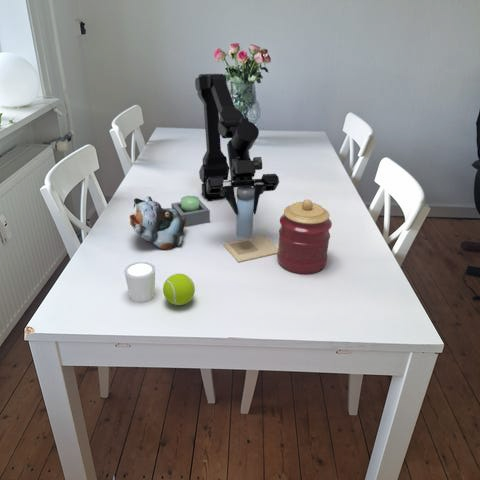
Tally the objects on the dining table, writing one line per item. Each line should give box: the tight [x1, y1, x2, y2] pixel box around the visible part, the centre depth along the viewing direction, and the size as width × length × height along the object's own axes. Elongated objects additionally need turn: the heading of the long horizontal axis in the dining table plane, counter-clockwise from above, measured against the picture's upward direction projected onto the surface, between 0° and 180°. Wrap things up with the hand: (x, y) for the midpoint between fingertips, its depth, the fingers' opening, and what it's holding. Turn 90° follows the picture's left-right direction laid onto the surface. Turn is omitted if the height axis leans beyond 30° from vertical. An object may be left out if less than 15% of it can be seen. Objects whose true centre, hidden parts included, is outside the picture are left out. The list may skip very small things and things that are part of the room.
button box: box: [170, 199, 211, 228], centre depth 141 cm, size 9×9×4 cm
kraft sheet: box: [222, 234, 279, 264], centre depth 127 cm, size 13×10×1 cm
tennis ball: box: [162, 273, 196, 306], centre depth 103 cm, size 7×7×7 cm
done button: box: [180, 195, 200, 213], centre depth 140 cm, size 5×5×4 cm
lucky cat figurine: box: [129, 195, 186, 251], centre depth 127 cm, size 15×12×14 cm
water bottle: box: [235, 186, 255, 239], centre depth 122 cm, size 5×5×13 cm
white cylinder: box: [123, 261, 156, 303], centre depth 105 cm, size 7×7×7 cm
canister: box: [276, 198, 333, 275], centre depth 117 cm, size 13×13×18 cm
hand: (246, 214), depth 120 cm, fingers closed on water bottle, 4 cm apart
